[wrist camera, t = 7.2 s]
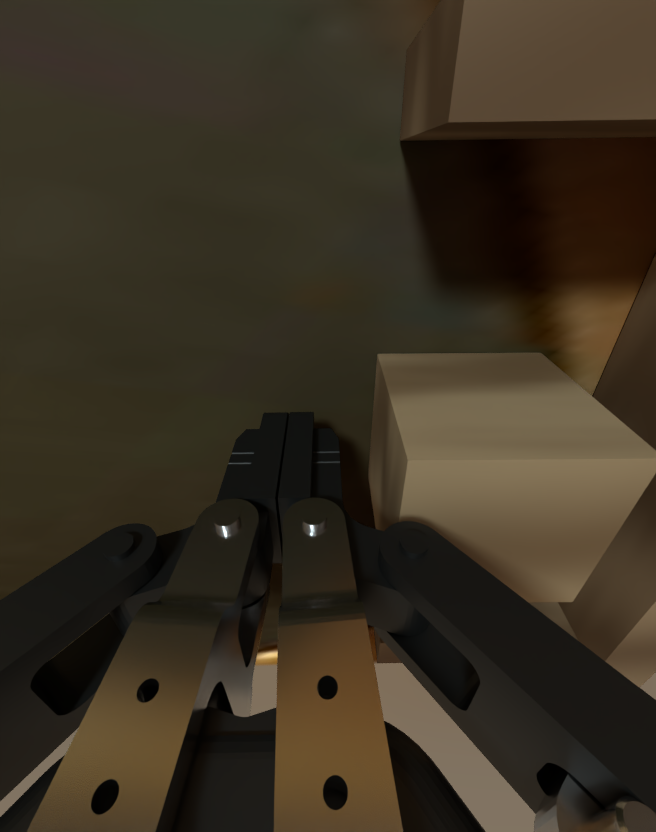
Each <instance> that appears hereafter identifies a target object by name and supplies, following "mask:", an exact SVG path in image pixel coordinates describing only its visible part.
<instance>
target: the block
mask: <svg viewBox="0 0 656 832" xmlns="http://www.w3.org/2000/svg"><path fill="white" fill-rule="evenodd" d="M655 474H656V450H655V449H653V448H652V447H651V446H650V445H649V444H648V443H646V442H645V441H644V440H643V439H642V438H640V437H639V436H638V435H637V434H636V433H635V432H633V431H632V430H631V429H630V428H629V427H627V426H626V425H625V424H624V423H623V422H622V421H620V420H619V419H618V418H617V417H616V416H615V415H613V414H612V413H611V412H610V411H609V410H607V409H606V408H605V407H604V406H603V405H602V404H600V403H599V402H598V401H597V400H596V399H595V398H593V397H592V396H591V395H590V394H589V393H587V392H586V391H585V390H584V389H583V388H582V387H580V386H579V385H578V384H577V383H576V382H575V381H573V380H572V379H571V378H570V377H569V376H567V375H566V374H565V373H564V372H563V371H562V370H560V369H559V368H558V367H557V366H556V365H554V364H553V363H552V362H551V361H550V360H549V359H547V358H546V357H545V356H544V355H543V354H542V353H422V354H377V366H376V379H375V393H374V406H373V419H372V432H371V446H370V459H369V472H368V478H369V485H370V492H371V499H372V506H373V513H374V520H375V527H376V529H378V530H381V531H385V529H387V528H388V527H389V526H391V525H392V524H395V523H397V522H402V521H414V522H418V523H422V524H424V525H426V526H428V527H430V528H432V529H433V530H435V531H436V532H437V533H439V534H440V535H441V536H443V537H444V538H445V539H446V540H448V541H449V542H450V543H452V544H453V545H454V546H456V547H457V548H458V549H459V550H461V551H462V552H463V553H465V554H466V555H467V556H469V557H470V558H471V559H472V560H474V561H475V562H476V563H478V564H479V565H480V566H482V567H483V568H484V569H486V570H487V571H488V572H489V573H491V574H492V575H493V576H495V577H496V578H497V579H499V580H500V581H501V582H502V583H504V584H505V585H506V586H508V587H509V588H510V589H512V590H513V591H514V592H515V593H517V594H518V595H519V596H521V597H522V598H523V599H525V600H526V601H527V602H528V603H529V602H573V601H574V599H575V598H576V596H577V595H578V593H579V591H580V590H581V588H582V587H583V585H584V584H585V582H586V581H587V579H588V577H589V576H590V574H591V573H592V571H593V570H594V568H595V567H596V565H597V564H598V562H599V560H600V559H601V557H602V556H603V554H604V553H605V551H606V550H607V548H608V546H609V545H610V543H611V542H612V540H613V539H614V537H615V536H616V534H617V532H618V531H619V529H620V528H621V526H622V525H623V523H624V522H625V520H626V519H627V517H628V515H629V514H630V512H631V511H632V509H633V508H634V506H635V505H636V503H637V501H638V500H639V498H640V497H641V495H642V494H643V492H644V491H645V489H646V487H647V486H648V484H649V483H650V481H651V480H652V478H653V477H654V475H655Z"/></svg>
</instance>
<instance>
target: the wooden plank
mask: <svg viewBox="0 0 656 832" xmlns="http://www.w3.org/2000/svg"><path fill="white" fill-rule="evenodd" d="M618 137H656V0H441V1H440V2H439V4H438V5H437V7H436V8H435V10H434V11H433V13H432V14H431V15H430V17H429V18H428V20H427V21H426V23H425V24H424V26H423V27H422V29H421V30H420V32H419V33H418V34H417V36H416V37H415V39H414V40H413V42H412V43H411V45H410V46H409V48H408V49H407V53H406V66H405V80H404V93H403V106H402V119H401V132H400V141H417V140H484V139H551V138H618ZM593 398H595V399H596V400H597V401H598V402H599V403H600V404H602V405H603V406H604V407H605V408H606V409H607V410H609V411H610V412H611V413H612V414H613V415H615V416H616V417H617V418H618V419H619V420H620V421H622V422H623V423H624V424H625V425H626V426H627V427H629V428H630V429H631V430H632V431H633V432H635V433H636V434H637V435H638V436H639V437H640V438H642V439H643V440H644V441H645V442H646V443H648V444H649V445H650V446H651V447H652V448H653V449H655V450H656V254H655V257H654V259H653V261H652V263H651V266H650V268H649V270H648V272H647V275H646V277H645V279H644V281H643V284H642V286H641V288H640V291H639V293H638V295H637V297H636V300H635V302H634V304H633V306H632V309H631V311H630V313H629V315H628V318H627V320H626V322H625V325H624V327H623V329H622V331H621V334H620V336H619V338H618V340H617V343H616V345H615V347H614V349H613V352H612V354H611V356H610V359H609V361H608V363H607V365H606V368H605V370H604V372H603V374H602V377H601V379H600V381H599V383H598V386H597V388H596V390H595V393H594V395H593ZM529 603H530V604H531V605H532V606H534V607H535V608H536V609H538V610H539V611H540V612H542V613H543V614H544V615H545V616H547V617H548V618H549V619H551V620H552V621H553V622H555V623H556V624H557V625H558V626H560V627H561V628H562V629H564V630H565V631H566V632H568V633H569V634H570V635H571V636H573V637H574V638H575V639H577V640H578V641H579V642H581V643H582V644H583V645H584V646H586V647H587V648H588V649H590V650H591V651H592V652H594V653H595V654H596V655H598V656H599V657H600V658H601V659H603V660H604V661H605V662H607V663H608V664H609V665H611V666H612V667H613V668H614V669H616V670H617V671H618V672H620V673H621V674H622V675H624V676H625V677H626V678H627V679H629V680H630V681H631V682H633V683H634V684H635V685H637V686H638V687H639V688H640V686H641V685H643V684H644V683H645V682H646V681H647V680H648V679H649V678H650V677H651V676H652V675H653V674H654V673H655V672H656V474H655V475H654V477H653V478H652V480H651V481H650V483H649V484H648V486H647V487H646V489H645V491H644V492H643V494H642V495H641V497H640V498H639V500H638V501H637V503H636V505H635V506H634V508H633V509H632V511H631V512H630V514H629V515H628V517H627V519H626V520H625V522H624V523H623V525H622V526H621V528H620V529H619V531H618V532H617V534H616V536H615V537H614V539H613V540H612V542H611V543H610V545H609V546H608V548H607V550H606V551H605V553H604V554H603V556H602V557H601V559H600V560H599V562H598V564H597V565H596V567H595V568H594V570H593V571H592V573H591V574H590V576H589V577H588V579H587V581H586V582H585V584H584V585H583V587H582V588H581V590H580V591H579V593H578V595H577V596H576V598H575V599H574V601H573V602H529ZM374 634H375V644H376V653H377V663H402V662H401V661H400V660H399V658H398V657H397V656H396V655H395V654H394V653H393V652H392V651H391V649H390V648H389V647H388V646H387V645H386V644H385V643H384V642H383V640H382V639H381V638H380V637H379V636H378V634H377V633H376V631H375V629H374Z"/></svg>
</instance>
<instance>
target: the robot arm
mask: <svg viewBox="0 0 656 832" xmlns="http://www.w3.org/2000/svg"><path fill="white" fill-rule="evenodd" d="M272 563H282V603H281V606H280V608H279V621H278V663H277V706H276V708H274V709H271V710H268V711H265V712H262V713H259V714H256V715H253V716H250V711H251V710H250V709H251V700H252V680H253V672H254V666H255V662H256V657H257V652H258V647H259V642H260V637H261V632H262V628H263V623H264V618H265V613H266V608H267V603H268V598H269V593H270V586H269V583H270V578H271V570H272ZM108 613H109V614H108ZM107 614H108V615H107ZM105 615H107V616H105ZM104 616H105V617H104ZM103 617H104V618H103ZM102 618H103V619H102ZM100 619H102V620H100ZM99 620H100V621H99ZM98 621H99V622H98ZM96 622H98V623H97V624H95V623H96ZM94 624H95V625H94ZM93 625H94V626H93ZM367 625H370V626H373V627H374V629H375V631H376V633H377V634H378V636H379V637H380V638H381V639H382V640H383V642H384V643H385V644H386V645H387V646H388V647H389V648H390V649H391V651H392V652H393V653H394V654H395V655H396V656H397V657H398V658H399V660H400V661H401V662H402V663H403V664H404V665H405V666H406V668H407V669H408V670H409V671H410V672H411V673H412V674H413V675H414V677H415V678H416V679H417V680H418V681H419V682H420V683H421V684H422V686H423V687H424V688H425V689H426V690H427V691H428V692H429V693H430V695H431V696H432V697H433V698H434V699H435V700H436V702H437V703H438V704H439V705H440V706H441V707H442V708H443V709H444V711H445V712H446V713H447V714H448V715H449V716H450V717H451V718H452V719H453V721H454V722H455V723H456V724H457V725H458V726H459V728H460V729H461V730H462V731H463V732H464V733H465V734H466V735H467V737H468V738H469V739H470V740H471V741H472V742H473V743H474V745H475V746H476V747H477V748H478V749H479V750H480V751H481V752H482V754H483V755H484V756H485V757H486V758H487V759H488V760H489V761H490V763H491V764H492V765H493V766H494V767H495V768H496V769H497V770H498V772H499V773H500V774H501V775H502V776H503V777H504V779H505V780H506V781H507V782H508V783H509V784H510V785H511V786H512V788H513V789H514V790H515V791H516V792H517V793H518V794H519V796H520V797H521V798H522V799H523V800H524V801H525V802H526V803H527V804H528V806H529V807H530V808H531V809H532V810H533V811H534V813H535V814H536V816H535V821H534V832H656V700H655V699H653V698H652V697H651V696H650V695H648V694H647V693H646V692H644V691H643V690H642V689H640V688H639V687H638V686H637V685H635V684H634V683H633V682H631V681H630V680H629V679H627V678H626V677H625V676H624V675H622V674H621V673H620V672H618V671H617V670H616V669H614V668H613V667H612V666H611V665H609V664H608V663H607V662H605V661H604V660H603V659H601V658H600V657H599V656H598V655H596V654H595V653H594V652H592V651H591V650H590V649H588V648H587V647H586V646H584V645H583V644H582V643H581V642H579V641H578V640H577V639H575V638H574V637H573V636H571V635H570V634H569V633H568V632H566V631H565V630H564V629H562V628H561V627H560V626H558V625H557V624H556V623H555V622H553V621H552V620H551V619H549V618H548V617H547V616H545V615H544V614H543V613H542V612H540V611H539V610H538V609H536V608H535V607H534V606H532V605H531V604H530V603H528V602H527V601H526V600H525V599H523V598H522V597H521V596H519V595H518V594H517V593H515V592H514V591H513V590H512V589H510V588H509V587H508V586H506V585H505V584H504V583H502V582H501V581H500V580H499V579H497V578H496V577H495V576H493V575H492V574H491V573H489V572H488V571H487V570H486V569H484V568H483V567H482V566H480V565H479V564H478V563H476V562H475V561H474V560H472V559H471V558H470V557H469V556H467V555H466V554H465V553H463V552H462V551H461V550H459V549H458V548H457V547H456V546H454V545H453V544H452V543H450V542H449V541H448V540H446V539H445V538H444V537H443V536H441V535H440V534H439V533H437V532H436V531H435V530H433V529H432V528H430V527H428V526H426V525H424V524H422V523H418V522H414V521H402V522H397V523H395V524H392V525H391V526H389V527H388V528H387V529H385V531H381V530H378V529H374V528H370V527H367V526H364V525H362V524H360V523H358V522H356V521H355V520H354V519H352V518H351V517H350V516H349V515H348V513H347V512H346V510H345V509H344V506H343V501H342V486H341V469H340V453H339V439H338V437H337V436H336V434H335V433H334V432H333V430H332V429H331V428H317V429H314V412H290V414H289V413H264V414H263V418H262V422H261V426H260V429H246V430H245V431H244V432H243V433H242V434H241V435H240V436H239V437H238V438H237V439H236V442H235V445H234V448H233V451H232V455H231V457H230V460H229V465H228V466H227V469H226V473H225V476H224V479H223V482H222V485H221V488H220V491H219V494H218V497H217V500H216V503H214V504H212V505H210V506H209V507H207V508H206V509H205V510H204V511H203V512H202V513H201V514H200V515H199V517H198V519H197V521H196V523H195V525H193V526H191V527H189V528H186V529H183V530H180V531H176V532H172V533H169V534H165V535H161V536H158V537H156V534H155V532H154V531H153V530H152V528H150V527H149V526H146V525H144V524H126V525H122V526H119V527H116V528H114V529H112V530H110V531H108V532H106V533H104V534H103V535H101V536H100V537H98V538H97V539H95V540H93V541H92V542H90V543H89V544H87V545H86V546H84V547H83V548H81V549H79V550H78V551H76V552H75V553H73V554H72V555H70V556H69V557H67V558H65V559H64V560H62V561H61V562H59V563H58V564H56V565H55V566H53V567H51V568H50V569H48V570H47V571H45V572H44V573H42V574H41V575H39V576H37V577H36V578H34V579H33V580H31V581H30V582H28V583H27V584H25V585H23V586H22V587H20V588H19V589H17V590H16V591H14V592H13V593H11V594H9V595H8V596H6V597H5V598H3V599H2V600H0V801H1V800H2V799H3V798H4V797H5V796H6V795H7V794H8V793H9V792H11V791H12V790H13V789H14V788H15V787H16V786H17V785H18V784H19V783H20V782H21V781H22V780H23V779H24V778H25V777H26V776H28V774H30V773H31V772H32V771H33V770H34V769H35V768H36V767H37V766H38V765H39V764H40V763H41V762H42V761H43V760H44V759H45V758H46V757H48V756H49V755H50V754H51V753H52V752H53V751H54V750H55V749H56V748H57V747H58V746H59V745H60V744H61V743H62V742H64V741H65V740H66V738H68V737H69V736H70V735H71V734H72V733H73V732H74V731H75V730H76V729H77V728H78V727H79V728H78V730H77V732H76V734H75V736H74V738H73V740H72V742H71V744H70V746H69V748H68V750H67V752H66V754H65V755H64V756H63V757H62V758H61V759H59V760H58V761H57V762H56V763H55V764H54V765H52V766H51V767H50V768H49V769H48V770H47V771H46V772H45V773H44V774H43V775H42V776H41V777H40V778H39V779H38V780H37V781H36V782H35V783H34V784H33V785H32V786H31V787H30V788H29V789H28V790H27V791H26V792H25V793H24V794H23V795H22V796H21V797H20V798H19V799H18V800H17V801H16V802H15V803H14V804H13V805H12V806H11V807H10V808H9V809H8V810H7V811H6V812H5V813H4V814H3V815H2V816H1V817H0V832H485V830H484V829H483V828H482V827H481V825H480V824H479V822H478V821H477V820H476V818H475V817H474V816H473V814H472V813H471V811H470V810H469V809H468V808H467V806H466V805H465V803H464V802H463V801H462V799H461V798H460V797H459V796H458V794H457V793H456V791H455V790H454V789H453V787H452V786H451V785H450V783H449V782H448V780H447V779H446V778H445V776H444V775H443V774H442V772H441V771H440V770H439V768H438V767H437V766H436V765H435V763H434V762H433V761H432V759H431V758H430V757H429V756H428V755H427V754H426V753H425V752H424V751H423V750H422V749H421V748H420V746H419V745H418V744H416V743H415V742H414V741H413V740H412V739H410V738H409V737H408V736H407V735H406V734H405V733H403V732H402V731H400V730H399V729H397V728H396V727H394V726H393V725H391V724H390V723H387V722H385V721H384V719H383V713H382V707H381V701H380V695H379V690H378V684H377V678H376V672H375V667H374V661H373V655H372V649H371V644H370V638H369V632H368V626H367ZM91 626H93V627H92V628H90V627H91ZM89 628H90V629H89ZM88 629H89V630H88ZM86 630H88V631H87V632H85V631H86ZM84 632H85V633H84ZM83 633H84V634H83ZM81 634H83V635H81ZM80 635H81V636H80ZM79 636H80V637H79ZM78 637H79V638H78ZM76 638H78V639H76ZM75 639H76V640H75ZM74 640H75V641H74ZM72 641H74V642H73V643H71V642H72ZM70 643H71V644H70ZM69 644H70V645H69ZM67 645H69V646H68V647H66V646H67ZM65 647H66V648H65ZM64 648H65V649H64ZM62 649H64V650H63V651H61V650H62ZM60 651H61V652H60ZM59 652H60V653H59ZM57 653H59V654H57ZM56 654H57V655H56ZM55 655H56V656H55ZM53 656H55V657H54V658H52V657H53ZM51 658H52V659H51ZM50 659H51V660H50ZM48 660H49V661H48ZM47 661H48V662H47Z"/></svg>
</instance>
